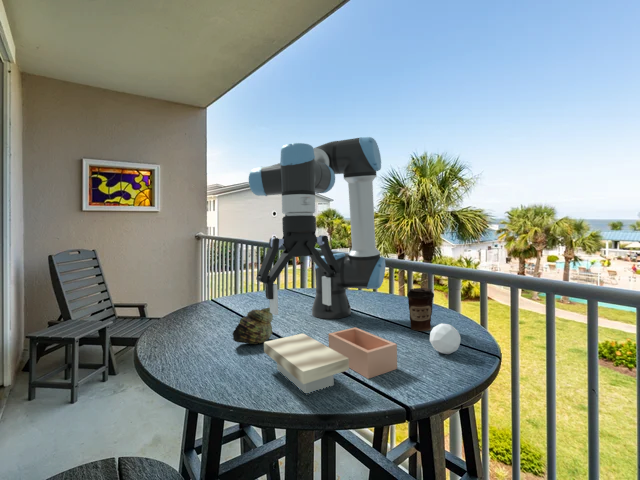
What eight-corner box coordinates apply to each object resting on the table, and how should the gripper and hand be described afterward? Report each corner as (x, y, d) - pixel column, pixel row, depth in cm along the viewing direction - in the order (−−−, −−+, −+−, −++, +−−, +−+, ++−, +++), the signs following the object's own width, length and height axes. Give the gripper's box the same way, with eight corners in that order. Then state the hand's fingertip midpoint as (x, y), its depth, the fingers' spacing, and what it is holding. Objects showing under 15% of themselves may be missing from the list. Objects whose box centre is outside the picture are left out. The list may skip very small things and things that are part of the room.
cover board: (264, 352, 82) (263, 342, 82) (303, 342, 88) (303, 333, 88) (303, 384, 65) (303, 371, 65) (348, 369, 71) (348, 358, 71)
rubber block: (277, 370, 81) (276, 354, 81) (302, 363, 84) (302, 347, 84) (305, 394, 69) (305, 375, 69) (333, 385, 73) (333, 367, 72)
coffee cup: (436, 333, 104) (435, 292, 103) (408, 332, 105) (408, 291, 105) (432, 325, 112) (432, 286, 111) (407, 324, 114) (406, 286, 113)
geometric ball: (453, 364, 88) (467, 346, 83) (423, 352, 89) (435, 334, 84) (453, 341, 94) (466, 324, 89) (425, 331, 95) (436, 313, 90)
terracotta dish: (329, 355, 89) (328, 333, 88) (355, 348, 93) (355, 327, 93) (368, 378, 75) (367, 352, 75) (397, 368, 80) (396, 344, 80)
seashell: (238, 337, 106) (236, 305, 105) (274, 335, 107) (273, 304, 106) (232, 349, 95) (230, 315, 95) (272, 347, 96) (271, 313, 96)
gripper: (251, 214, 65) (255, 322, 66) (353, 214, 78) (355, 303, 79) (239, 216, 71) (242, 314, 72) (335, 215, 85) (337, 298, 86)
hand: (301, 308), depth 76 cm, fingers open, 13 cm apart
